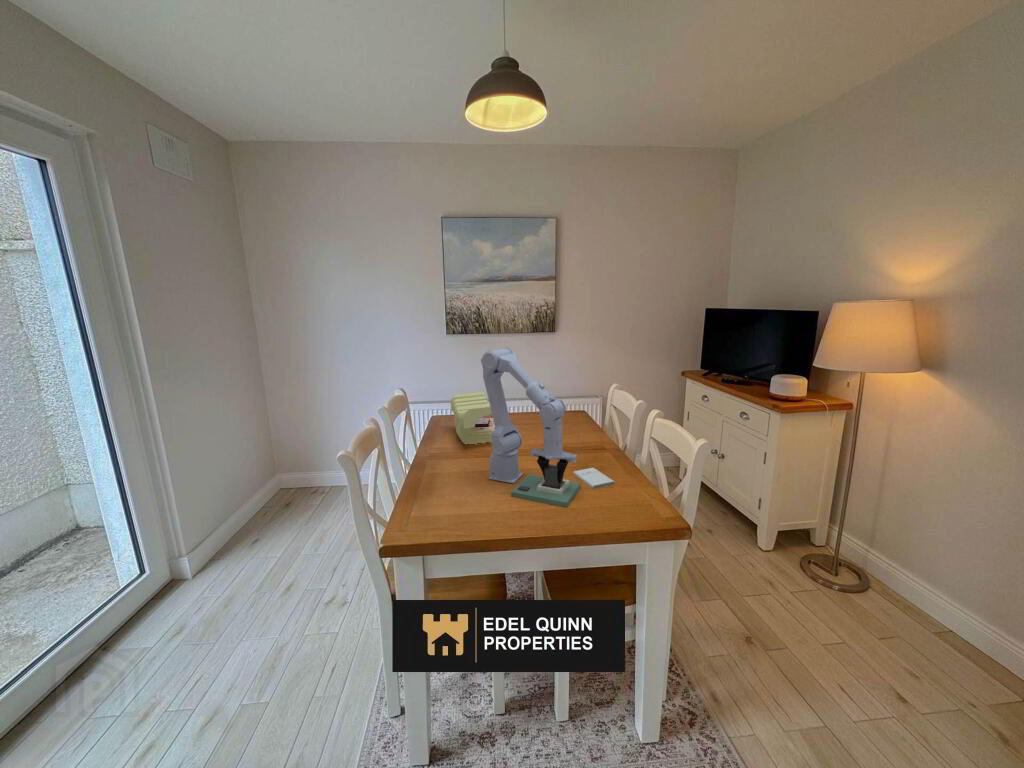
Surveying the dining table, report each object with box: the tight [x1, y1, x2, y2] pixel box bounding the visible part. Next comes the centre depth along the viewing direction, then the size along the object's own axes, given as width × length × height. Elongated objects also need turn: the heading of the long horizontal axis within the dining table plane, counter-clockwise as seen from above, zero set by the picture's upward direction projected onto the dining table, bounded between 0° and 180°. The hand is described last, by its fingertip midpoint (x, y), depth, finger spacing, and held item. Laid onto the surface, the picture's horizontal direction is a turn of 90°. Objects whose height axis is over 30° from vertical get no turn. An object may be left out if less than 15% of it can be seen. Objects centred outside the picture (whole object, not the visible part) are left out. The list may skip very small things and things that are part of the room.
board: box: [510, 473, 582, 508], centre depth 126 cm, size 18×14×3 cm
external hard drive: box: [573, 467, 615, 490], centre depth 135 cm, size 2×8×12 cm
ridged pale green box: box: [450, 391, 493, 446], centre depth 176 cm, size 30×16×18 cm, turn 18°
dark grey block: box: [545, 463, 561, 489], centre depth 125 cm, size 4×4×6 cm
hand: (553, 480), depth 126 cm, fingers closed on dark grey block, 4 cm apart
